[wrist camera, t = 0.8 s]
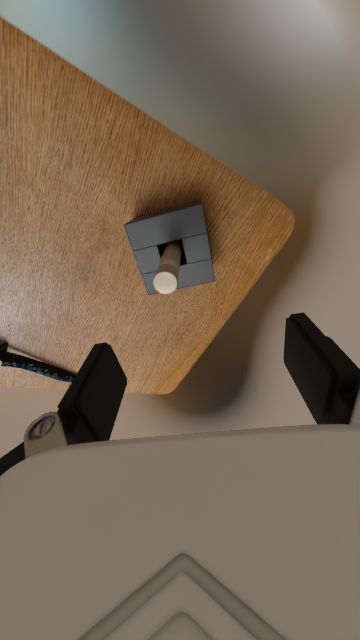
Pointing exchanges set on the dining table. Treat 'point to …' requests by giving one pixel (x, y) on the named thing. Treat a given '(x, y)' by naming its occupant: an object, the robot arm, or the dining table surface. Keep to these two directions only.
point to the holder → (168, 227)
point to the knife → (33, 365)
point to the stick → (168, 268)
